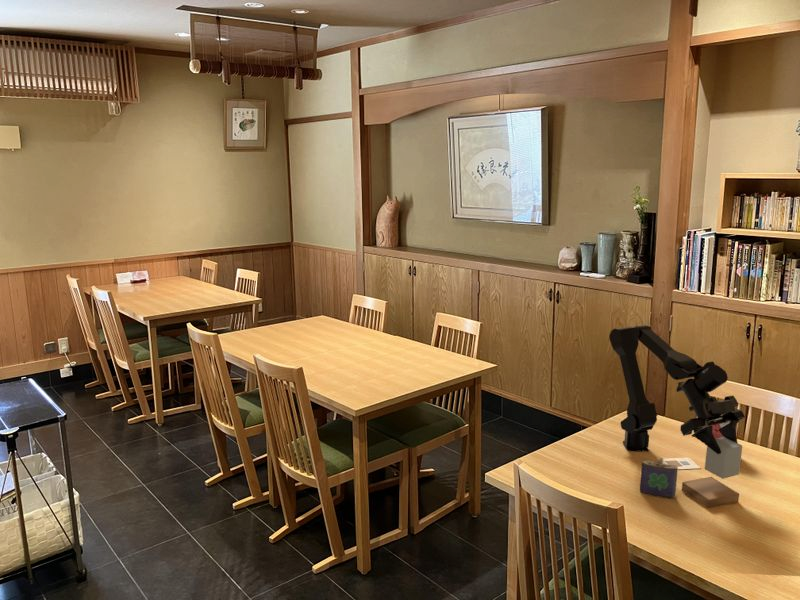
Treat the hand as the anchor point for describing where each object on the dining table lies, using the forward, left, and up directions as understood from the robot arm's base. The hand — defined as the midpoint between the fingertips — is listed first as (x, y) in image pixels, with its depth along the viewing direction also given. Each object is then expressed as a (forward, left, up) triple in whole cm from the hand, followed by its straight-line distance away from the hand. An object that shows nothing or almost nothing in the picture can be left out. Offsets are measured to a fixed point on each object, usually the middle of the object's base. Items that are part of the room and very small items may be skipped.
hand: (728, 451), depth 176 cm
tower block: (-1, +1, -7) cm, 7 cm away
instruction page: (-6, +19, -13) cm, 24 cm away
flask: (-18, 0, -14) cm, 22 cm away
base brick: (-4, 0, -14) cm, 14 cm away
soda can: (+10, +28, -14) cm, 33 cm away
